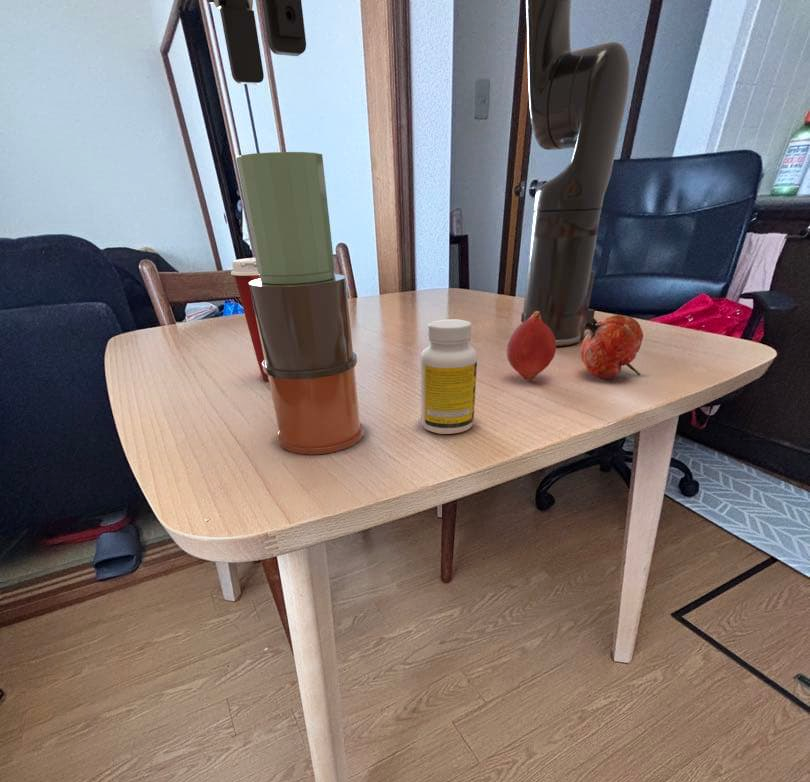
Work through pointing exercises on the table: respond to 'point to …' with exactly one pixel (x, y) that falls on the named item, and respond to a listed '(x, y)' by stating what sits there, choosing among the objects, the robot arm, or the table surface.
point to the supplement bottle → (448, 377)
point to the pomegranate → (611, 345)
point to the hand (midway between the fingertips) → (267, 70)
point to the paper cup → (249, 302)
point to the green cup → (288, 216)
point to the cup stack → (309, 363)
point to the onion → (531, 347)
